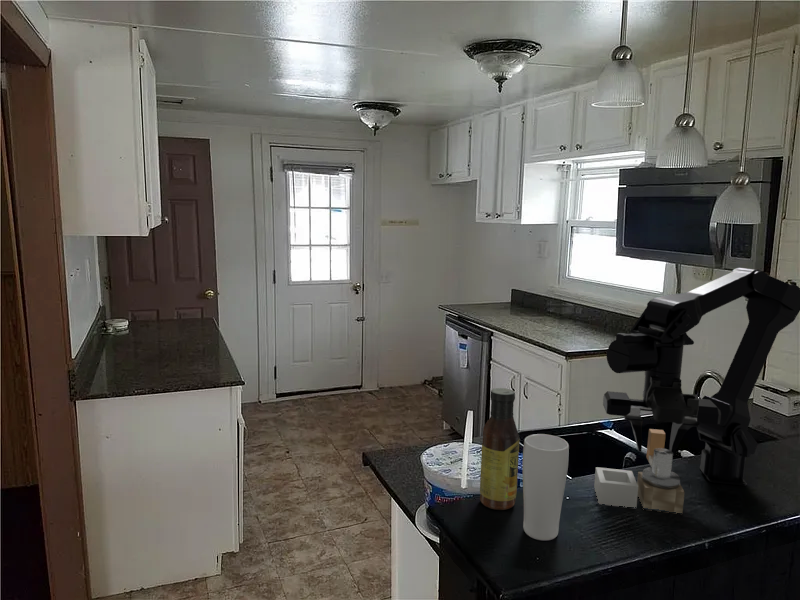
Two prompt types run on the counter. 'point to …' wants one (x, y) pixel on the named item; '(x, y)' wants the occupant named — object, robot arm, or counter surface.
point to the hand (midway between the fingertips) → (655, 452)
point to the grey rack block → (616, 487)
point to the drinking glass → (543, 484)
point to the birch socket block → (660, 497)
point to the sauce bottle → (500, 453)
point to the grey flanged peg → (661, 471)
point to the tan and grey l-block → (654, 443)
